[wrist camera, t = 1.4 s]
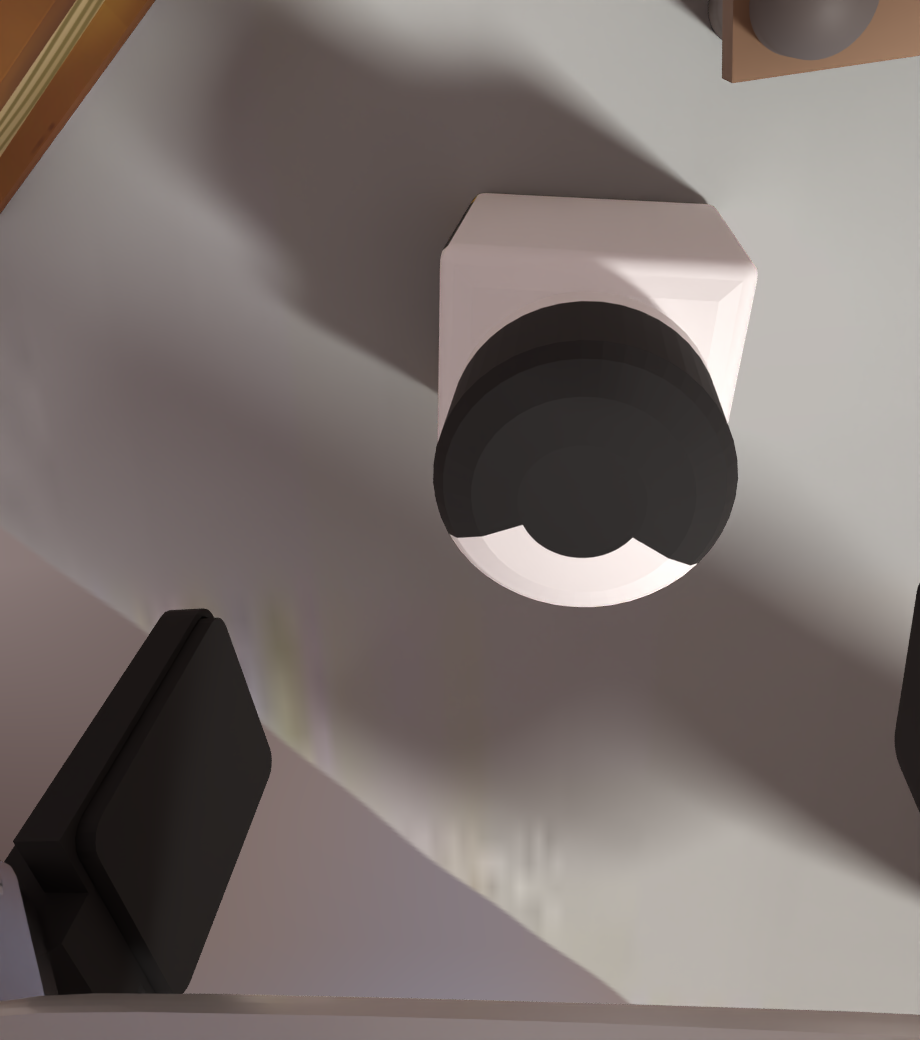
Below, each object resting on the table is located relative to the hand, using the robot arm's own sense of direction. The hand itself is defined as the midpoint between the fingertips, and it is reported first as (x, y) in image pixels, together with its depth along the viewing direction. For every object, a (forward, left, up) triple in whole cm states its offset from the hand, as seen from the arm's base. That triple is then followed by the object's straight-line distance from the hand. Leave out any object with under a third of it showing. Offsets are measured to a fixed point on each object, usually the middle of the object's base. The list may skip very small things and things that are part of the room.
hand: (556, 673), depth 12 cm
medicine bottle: (0, 0, -18) cm, 18 cm away
